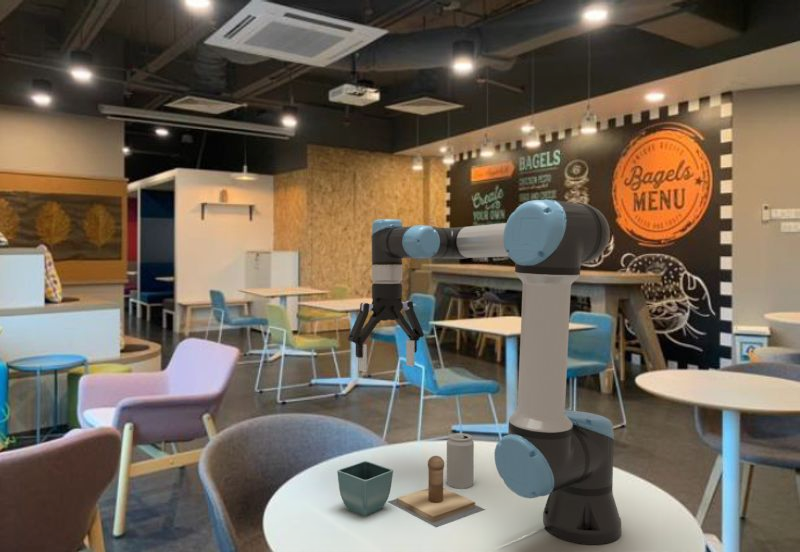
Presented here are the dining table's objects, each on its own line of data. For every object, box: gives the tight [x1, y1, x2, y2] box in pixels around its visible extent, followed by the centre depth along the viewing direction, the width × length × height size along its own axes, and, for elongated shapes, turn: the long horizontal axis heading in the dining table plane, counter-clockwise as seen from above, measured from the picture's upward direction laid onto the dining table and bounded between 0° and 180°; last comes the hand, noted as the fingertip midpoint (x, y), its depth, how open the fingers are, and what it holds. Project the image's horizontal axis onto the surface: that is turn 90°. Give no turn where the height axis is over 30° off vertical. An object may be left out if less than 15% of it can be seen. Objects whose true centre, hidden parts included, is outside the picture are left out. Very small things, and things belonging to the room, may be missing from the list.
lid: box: [396, 455, 476, 522], centre depth 131 cm, size 12×12×11 cm
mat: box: [387, 498, 486, 528], centre depth 132 cm, size 16×14×1 cm
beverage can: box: [446, 432, 475, 490], centre depth 144 cm, size 6×6×12 cm
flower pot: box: [336, 460, 394, 517], centre depth 130 cm, size 9×9×9 cm
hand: (387, 368), depth 150 cm, fingers open, 13 cm apart
